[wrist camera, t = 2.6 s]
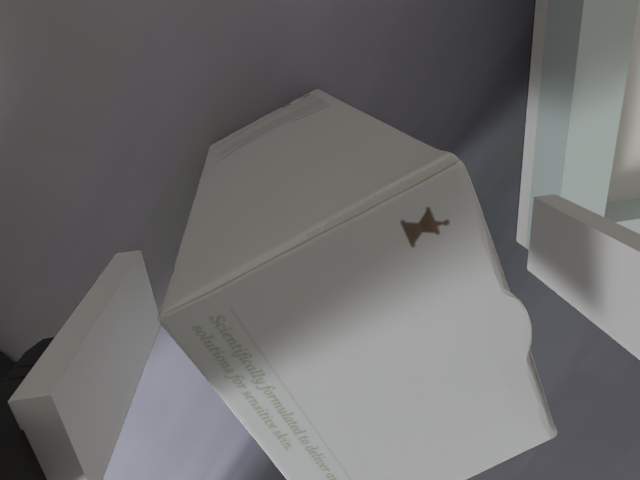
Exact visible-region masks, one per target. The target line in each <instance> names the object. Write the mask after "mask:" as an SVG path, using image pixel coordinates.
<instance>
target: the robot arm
mask: <svg viewBox="0 0 640 480" xmlns="http://www.w3.org/2000/svg"><path fill="white" fill-rule="evenodd" d="M527 270H529V271H530V272H531V273H532V274H534V275H535V276H536V277H537V278H539V279H540V280H541V281H542V282H544V283H545V284H546V285H547V286H548V287H550V288H551V289H552V290H553V291H555V292H556V293H557V294H558V295H560V296H561V297H562V298H563V299H565V300H566V301H567V302H568V303H570V304H571V305H572V306H573V307H575V308H576V309H577V310H578V311H579V312H581V313H582V314H583V315H584V316H586V317H587V318H588V319H589V320H591V321H592V322H593V323H594V324H596V325H597V326H598V327H599V328H601V329H602V330H603V331H604V332H606V333H607V334H608V335H609V336H611V337H612V338H613V339H614V340H615V341H617V342H618V343H619V344H620V345H622V346H623V347H624V348H625V349H627V350H628V351H629V352H630V353H632V354H633V355H634V356H635V357H637V358H638V359H639V360H640V234H639V233H636V232H634V231H632V230H630V229H628V228H626V227H624V226H622V225H619V224H617V223H615V222H613V221H611V220H609V219H607V218H605V217H603V216H600V215H598V214H596V213H594V212H592V211H590V210H588V209H586V208H584V207H581V206H579V205H577V204H575V203H573V202H571V201H569V200H567V199H565V198H562V197H560V196H558V195H556V194H552V195H545V196H537V197H534V200H533V211H532V222H531V232H530V243H529V254H528V264H527ZM158 316H159V313H158V310H157V306H156V303H155V299H154V295H153V292H152V288H151V285H150V281H149V278H148V274H147V270H146V267H145V263H144V260H143V256H142V252H141V250H137V251H130V252H122V253H116V254H115V256H114V257H113V258H112V260H111V261H110V263H109V264H108V265H107V267H106V268H105V269H104V271H103V272H102V273H101V275H100V276H99V278H98V279H97V280H96V282H95V283H94V284H93V286H92V287H91V288H90V290H89V291H88V293H87V294H86V295H85V297H84V298H83V299H82V301H81V302H80V304H79V305H78V306H77V308H76V309H75V310H74V312H73V313H72V314H71V316H70V317H69V319H68V320H67V321H66V323H65V324H64V325H63V327H62V328H61V329H60V331H59V332H58V334H57V335H56V336H55V337H53V338H47V339H43V340H41V341H40V342H39V343H37V344H36V345H34V346H33V347H32V348H30V349H29V350H28V351H26V352H25V353H24V354H23V356H22V357H21V358H20V359H19V361H18V362H17V363H16V364H15V363H14V362H13V361H11V360H10V359H9V358H8V357H6V356H5V355H4V354H2V353H1V352H0V480H103V477H104V475H105V472H106V469H107V467H108V464H109V461H110V459H111V456H112V453H113V451H114V448H115V445H116V443H117V440H118V437H119V434H120V432H121V429H122V426H123V424H124V421H125V418H126V416H127V413H128V410H129V408H130V405H131V402H132V400H133V397H134V394H135V392H136V389H137V386H138V384H139V381H140V378H141V376H142V373H143V370H144V368H145V365H146V362H147V360H148V357H149V354H150V352H151V349H152V346H153V344H154V341H155V338H156V336H157V333H158V330H159V328H160V325H161V323H160V322H159V320H158V319H157V318H158Z"/></svg>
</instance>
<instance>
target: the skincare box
mask: <svg viewBox="0 0 640 480" xmlns="http://www.w3.org/2000/svg"><path fill="white" fill-rule="evenodd" d="M157 319H158V320H159V322H160V323H161V325H162V326H163V327H164V328H165V330H166V331H167V332H168V333H169V334H170V336H171V337H172V338H173V339H174V340H175V341H176V343H177V344H178V345H179V346H180V347H181V349H182V350H183V351H184V352H185V353H186V355H187V356H188V357H189V358H190V359H191V361H192V362H193V363H194V364H195V365H196V367H197V368H198V369H199V370H200V371H201V373H202V374H203V375H204V376H205V378H206V379H207V380H208V382H209V383H210V384H211V385H212V387H213V388H214V389H215V390H216V392H217V393H218V394H219V395H220V397H221V398H222V399H223V400H224V402H225V403H226V404H227V405H228V407H229V408H230V409H231V410H232V412H233V413H234V414H235V415H236V417H237V418H238V419H239V420H240V422H241V423H242V424H243V425H244V427H245V428H246V429H247V430H248V432H249V433H250V434H251V435H252V436H253V438H254V439H255V440H256V441H257V443H258V444H259V445H260V446H261V448H262V449H263V450H264V451H265V452H266V454H267V455H268V456H269V457H270V459H271V460H272V461H273V463H274V464H275V465H276V467H277V468H278V469H279V470H280V472H281V473H282V474H283V475H284V477H285V478H286V479H287V480H467V479H469V478H471V477H473V476H475V475H477V474H479V473H481V472H483V471H485V470H487V469H489V468H491V467H493V466H495V465H497V464H499V463H501V462H504V461H506V460H508V459H510V458H512V457H514V456H516V455H518V454H520V453H522V452H524V451H526V450H528V449H531V448H533V447H535V446H537V445H539V444H541V443H543V442H546V441H548V440H550V439H552V438H554V437H555V436H556V435H557V428H556V427H555V425H554V423H553V420H552V417H551V414H550V410H549V407H548V404H547V401H546V397H545V394H544V391H543V388H542V384H541V381H540V378H539V375H538V372H537V368H536V365H535V362H534V359H533V356H532V353H531V350H530V346H531V341H532V326H531V322H530V318H529V315H528V313H527V310H526V309H525V307H524V305H523V304H522V302H521V301H520V300H519V299H518V298H517V297H516V296H514V295H513V294H512V293H511V292H510V290H509V287H508V284H507V281H506V279H505V276H504V273H503V270H502V267H501V264H500V261H499V258H498V255H497V252H496V249H495V246H494V244H493V241H492V238H491V235H490V232H489V229H488V227H487V224H486V222H485V219H484V216H483V212H482V209H481V206H480V203H479V201H478V198H477V195H476V193H475V190H474V187H473V185H472V182H471V179H470V177H469V174H468V172H467V170H466V168H465V165H464V164H463V163H462V162H461V161H460V160H459V159H458V158H457V157H456V156H455V155H454V154H453V153H451V152H448V151H442V150H438V149H436V148H434V147H431V146H429V145H427V144H425V143H423V142H421V141H419V140H417V139H415V138H413V137H411V136H409V135H407V134H405V133H403V132H401V131H399V130H397V129H395V128H393V127H391V126H390V125H388V124H386V123H384V122H382V121H380V120H378V119H376V118H374V117H372V116H370V115H368V114H366V113H364V112H362V111H360V110H358V109H356V108H354V107H352V106H350V105H348V104H347V103H345V102H343V101H341V100H339V99H337V98H335V97H333V96H331V95H329V94H327V93H326V92H324V91H322V90H321V89H315V90H313V91H311V92H309V93H307V94H305V95H303V96H301V97H299V98H297V99H296V100H294V101H292V102H290V103H288V104H286V105H284V106H282V107H280V108H278V109H276V110H275V111H273V112H271V113H269V114H267V115H265V116H263V117H261V118H260V119H258V120H256V121H254V122H252V123H250V124H249V125H247V126H245V127H243V128H241V129H239V130H237V131H236V132H234V133H232V134H230V135H228V136H226V137H225V138H223V139H221V140H219V141H217V142H216V143H214V144H212V145H211V146H210V147H209V151H208V154H207V158H206V161H205V164H204V168H203V172H202V175H201V177H200V181H199V185H198V188H197V192H196V195H195V198H194V202H193V205H192V208H191V212H190V215H189V219H188V222H187V225H186V229H185V232H184V235H183V238H182V241H181V245H180V248H179V252H178V255H177V258H176V262H175V266H174V272H173V274H172V276H171V279H170V281H169V286H168V289H167V292H166V295H165V299H164V302H163V305H162V309H161V312H160V314H159V316H158V318H157Z"/></svg>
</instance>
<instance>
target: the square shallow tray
mask: <svg viewBox="0 0 640 480" xmlns="http://www.w3.org/2000/svg"><path fill="white" fill-rule="evenodd" d="M552 194H556V195H558V196H560V197H562V198H565V199H567V200H569V201H571V202H573V203H575V204H577V205H579V206H581V207H584V208H586V209H588V210H590V211H592V212H594V213H596V214H598V215H600V216H603V217H605V218H607V219H609V220H611V221H613V222H615V223H617V224H619V225H622V226H624V227H626V228H628V229H630V230H632V231H634V232H636V233H639V234H640V0H536V4H535V16H534V28H533V40H532V53H531V65H530V77H529V89H528V102H527V114H526V126H525V138H524V151H523V163H522V175H521V187H520V200H519V212H518V224H517V236H516V241H517V242H518V243H520V244H521V245H522V246H524V247H525V248H527V249H528V250H529V243H530V232H531V222H532V211H533V200H534V197H537V196H545V195H552Z"/></svg>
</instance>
